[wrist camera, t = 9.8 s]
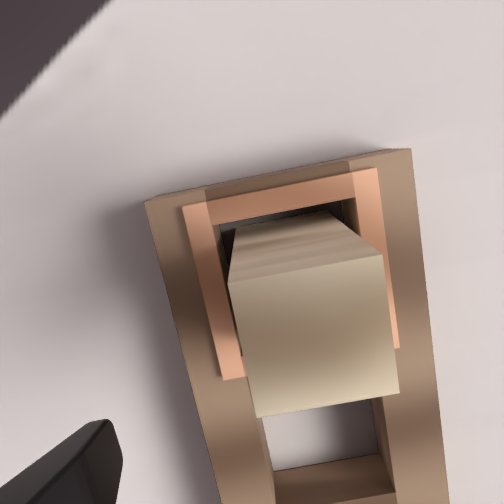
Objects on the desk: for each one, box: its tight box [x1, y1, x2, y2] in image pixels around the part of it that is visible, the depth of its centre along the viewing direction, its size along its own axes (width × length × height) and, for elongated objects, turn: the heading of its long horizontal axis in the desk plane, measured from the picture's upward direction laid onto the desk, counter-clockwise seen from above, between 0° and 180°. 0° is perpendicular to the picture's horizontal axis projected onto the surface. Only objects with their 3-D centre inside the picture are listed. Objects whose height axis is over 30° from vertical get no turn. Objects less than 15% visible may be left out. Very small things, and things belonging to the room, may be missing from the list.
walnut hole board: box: [144, 149, 450, 504], centre depth 20 cm, size 24×10×3 cm, turn 11°
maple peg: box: [228, 211, 400, 418], centre depth 15 cm, size 4×4×8 cm
